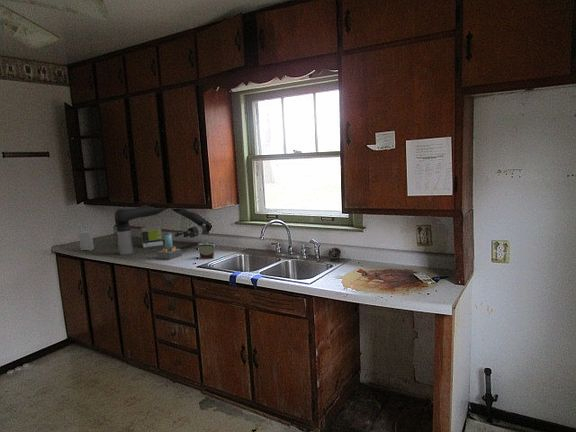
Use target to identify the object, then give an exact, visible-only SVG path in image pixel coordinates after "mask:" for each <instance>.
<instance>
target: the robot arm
mask: <svg viewBox="0 0 576 432" xmlns="http://www.w3.org/2000/svg"><path fill="white" fill-rule="evenodd" d="M167 209H169V208H154V207H150V206H148V205H146V204H143V205H141V206H138V207H135V208H128V209H125V208H119V209H116V211H114V222H115V227H116V232H117V234H116V235H117V248H118V249H117V250H118V255H121V256H122V255H123V256H124V255H130V254H133V253H134V247H133V239H132V229H131V225H130V223H129V221H132V220H135V219H140V218H146V217H152V216H156V215H159V214H161V213H162V212H164V211H165V210H167ZM171 210H172V211H173V212H174V213H176V214H179V215H181V216H183V217H185V218H186V219H188V220H190V221H192V222H193V223H194V224H196V226H191V227H188V229H187V230H181V231H176V233H174V236H175V238H177V237H183V238H188V237H189V238H196V237H199V236H201V235H209V234H208V233H209V231H210V230H211V228H212V225H211V223H209V222H208V221H206V220H205V219H206V218H204V217H203V216H202V215H200V214H199V213H196V212H193V211H189V210H187V209H186V208H184V209H171ZM202 217H203V218H202Z"/></svg>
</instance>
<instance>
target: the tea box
mask: <svg viewBox="0 0 576 432" xmlns="http://www.w3.org/2000/svg"><path fill="white" fill-rule="evenodd" d="M140 233H141V244H142V246H143V248H151V247H158V246H163V245H164V242H163V241H164V240H163V234H162V227H161V226H160V225H157V226H149V227H142V228H141V227H140Z"/></svg>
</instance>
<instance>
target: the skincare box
mask: <svg viewBox="0 0 576 432" xmlns="http://www.w3.org/2000/svg"><path fill="white" fill-rule="evenodd" d="M77 235H78V240H79V241H78V242H79V246H80V251H81V250H89V251H93V250H95V245H94V240H93V235H92V230H87V231H80V232H78V233H77ZM92 249H93V250H92Z"/></svg>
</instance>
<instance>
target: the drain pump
mask: <svg viewBox="0 0 576 432" xmlns="http://www.w3.org/2000/svg"><path fill="white" fill-rule="evenodd" d="M163 237H164V238H163V239H164V248H165V249H167V251H170V250H171V249H172V248H173V247H174V246H173V234H172V232H164V234H163Z"/></svg>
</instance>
